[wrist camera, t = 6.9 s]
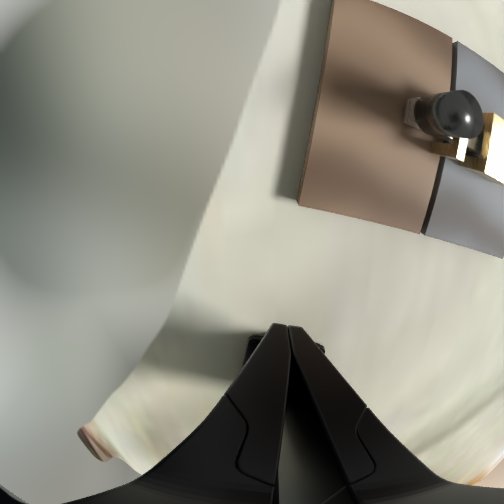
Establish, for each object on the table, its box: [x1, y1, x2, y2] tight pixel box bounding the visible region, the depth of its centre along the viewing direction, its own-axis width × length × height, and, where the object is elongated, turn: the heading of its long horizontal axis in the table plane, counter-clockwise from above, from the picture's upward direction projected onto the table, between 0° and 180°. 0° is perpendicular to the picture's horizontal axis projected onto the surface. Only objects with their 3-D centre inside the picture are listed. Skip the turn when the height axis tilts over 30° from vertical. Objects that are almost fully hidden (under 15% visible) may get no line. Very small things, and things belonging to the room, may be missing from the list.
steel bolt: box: [403, 90, 484, 158], centre depth 11 cm, size 2×8×5 cm, turn 81°
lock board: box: [297, 0, 504, 259], centre depth 15 cm, size 15×19×2 cm
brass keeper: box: [430, 113, 504, 186], centre depth 13 cm, size 4×7×3 cm, turn 81°
